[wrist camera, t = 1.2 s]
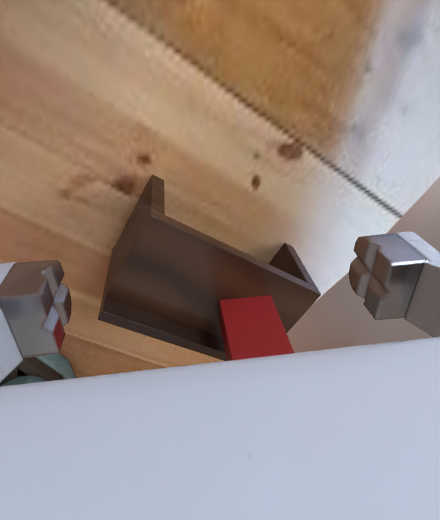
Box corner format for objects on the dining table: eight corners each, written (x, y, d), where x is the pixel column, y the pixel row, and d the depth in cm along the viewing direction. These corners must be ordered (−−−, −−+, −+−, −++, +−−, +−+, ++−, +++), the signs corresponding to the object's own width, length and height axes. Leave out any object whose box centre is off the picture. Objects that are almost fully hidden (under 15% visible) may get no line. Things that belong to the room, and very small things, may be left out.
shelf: (152, 174, 43) (149, 227, 32) (293, 246, 52) (329, 308, 41) (112, 250, 48) (97, 319, 37) (246, 305, 57) (267, 375, 46)
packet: (219, 300, 41) (234, 370, 33) (270, 294, 42) (298, 362, 33) (219, 326, 43) (233, 397, 35) (269, 320, 44) (294, 389, 36)
